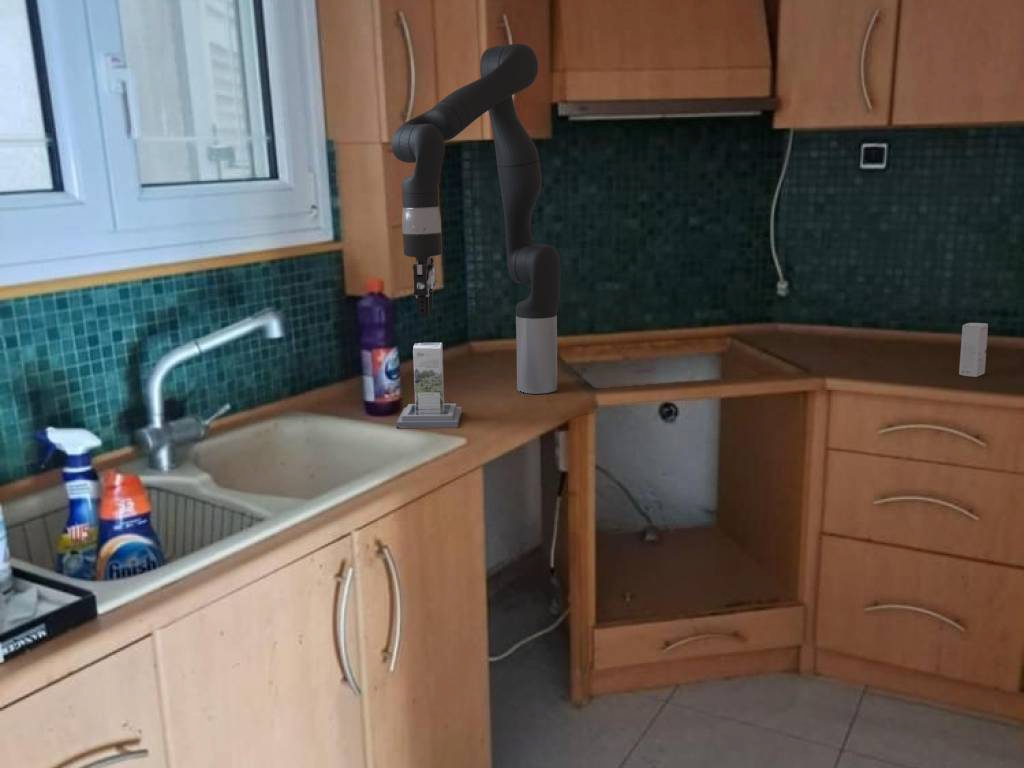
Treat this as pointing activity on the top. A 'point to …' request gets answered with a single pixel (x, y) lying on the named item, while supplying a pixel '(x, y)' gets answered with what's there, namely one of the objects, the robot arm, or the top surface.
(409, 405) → the base plate
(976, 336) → the skincare box
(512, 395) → the top surface
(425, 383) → the syrup box
